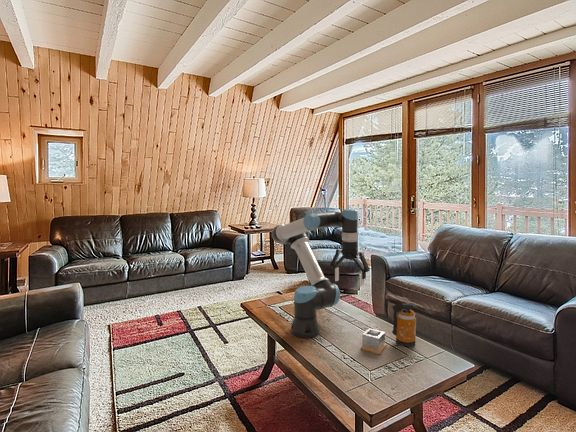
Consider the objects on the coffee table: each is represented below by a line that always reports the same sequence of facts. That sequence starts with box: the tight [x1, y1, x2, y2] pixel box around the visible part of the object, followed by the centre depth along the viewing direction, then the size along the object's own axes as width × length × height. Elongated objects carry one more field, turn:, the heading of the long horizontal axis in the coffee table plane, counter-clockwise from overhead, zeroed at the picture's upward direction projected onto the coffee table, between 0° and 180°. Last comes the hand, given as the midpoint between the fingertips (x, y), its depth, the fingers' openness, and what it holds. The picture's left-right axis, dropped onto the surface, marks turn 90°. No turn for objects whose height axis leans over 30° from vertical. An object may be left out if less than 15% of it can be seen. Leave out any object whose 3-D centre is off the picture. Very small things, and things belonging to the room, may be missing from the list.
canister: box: [391, 301, 417, 347], centre depth 167 cm, size 9×11×20 cm
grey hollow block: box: [361, 327, 386, 351], centre depth 163 cm, size 8×8×6 cm
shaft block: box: [360, 331, 387, 355], centre depth 163 cm, size 9×9×8 cm
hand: (349, 283), depth 170 cm, fingers open, 13 cm apart
